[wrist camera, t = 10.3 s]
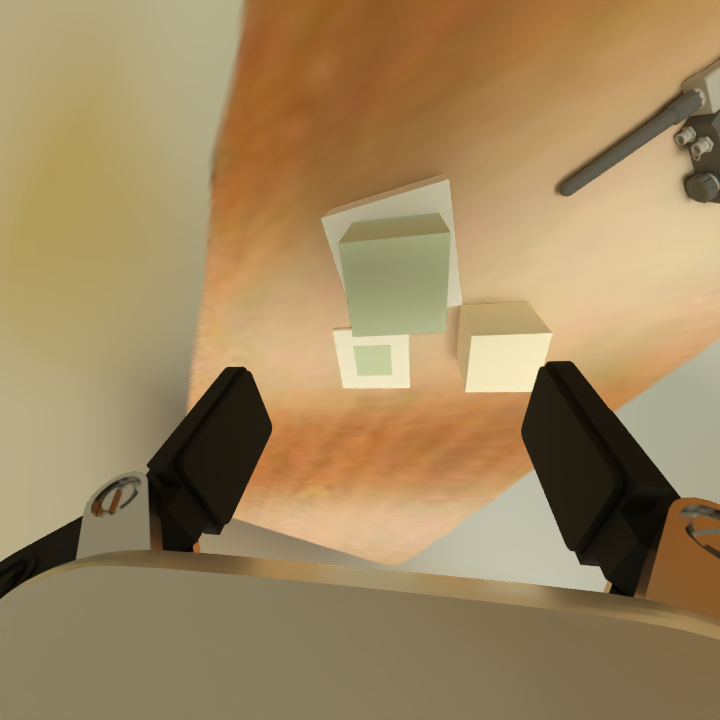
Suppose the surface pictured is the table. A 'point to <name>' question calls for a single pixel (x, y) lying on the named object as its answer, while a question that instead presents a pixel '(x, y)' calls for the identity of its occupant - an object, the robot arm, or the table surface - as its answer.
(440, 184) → the base block
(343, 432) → the table surface
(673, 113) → the walkie-talkie
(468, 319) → the cream cube
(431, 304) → the sage cube
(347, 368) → the card
